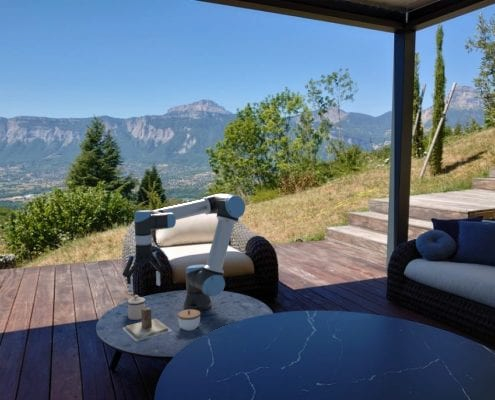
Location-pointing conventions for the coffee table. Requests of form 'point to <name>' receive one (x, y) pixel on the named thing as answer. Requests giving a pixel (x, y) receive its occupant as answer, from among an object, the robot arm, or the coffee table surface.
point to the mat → (144, 337)
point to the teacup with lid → (135, 307)
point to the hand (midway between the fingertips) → (145, 287)
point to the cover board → (146, 332)
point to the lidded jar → (189, 319)
